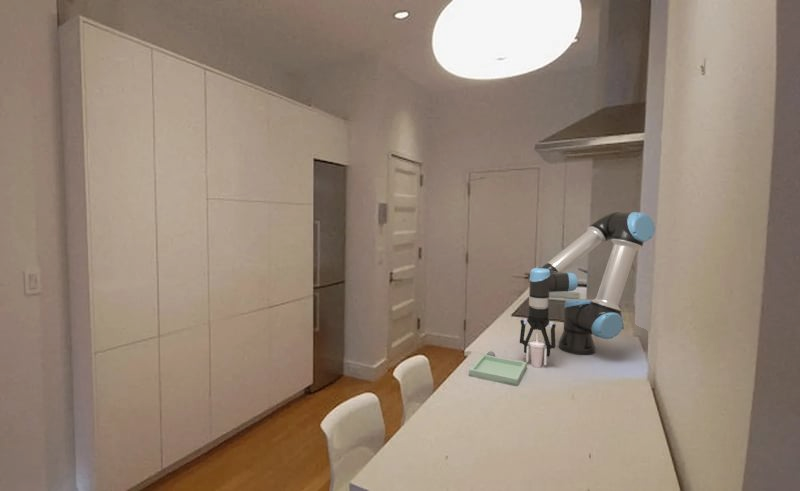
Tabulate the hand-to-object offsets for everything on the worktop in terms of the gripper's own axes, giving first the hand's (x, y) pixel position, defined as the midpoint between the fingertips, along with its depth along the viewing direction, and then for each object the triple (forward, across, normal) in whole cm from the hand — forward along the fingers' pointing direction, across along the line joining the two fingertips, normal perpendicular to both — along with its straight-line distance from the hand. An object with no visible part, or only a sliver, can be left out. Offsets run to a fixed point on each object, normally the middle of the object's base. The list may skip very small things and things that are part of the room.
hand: (536, 362), depth 157 cm
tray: (+1, +12, +14) cm, 18 cm away
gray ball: (+1, +18, +3) cm, 18 cm away
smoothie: (+2, 0, 0) cm, 2 cm away
